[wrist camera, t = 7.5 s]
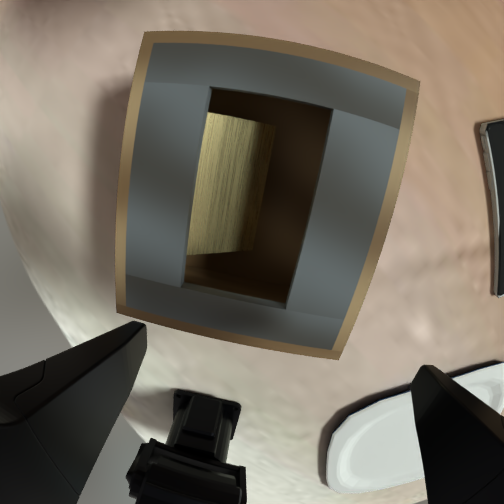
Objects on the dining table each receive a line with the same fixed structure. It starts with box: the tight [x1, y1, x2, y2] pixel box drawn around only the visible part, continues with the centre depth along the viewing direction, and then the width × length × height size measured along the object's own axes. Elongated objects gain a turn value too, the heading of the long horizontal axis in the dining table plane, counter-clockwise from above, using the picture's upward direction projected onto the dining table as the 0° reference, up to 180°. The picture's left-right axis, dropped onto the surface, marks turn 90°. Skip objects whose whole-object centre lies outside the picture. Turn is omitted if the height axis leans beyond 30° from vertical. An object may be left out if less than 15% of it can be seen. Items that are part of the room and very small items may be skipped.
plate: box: [326, 362, 504, 493], centre depth 27 cm, size 25×25×2 cm
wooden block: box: [187, 112, 276, 255], centre depth 16 cm, size 7×3×5 cm
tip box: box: [115, 31, 420, 360], centre depth 15 cm, size 14×12×7 cm
